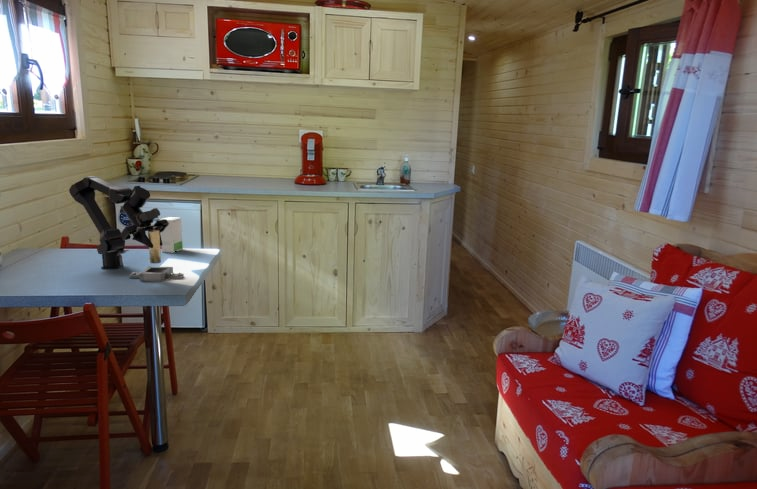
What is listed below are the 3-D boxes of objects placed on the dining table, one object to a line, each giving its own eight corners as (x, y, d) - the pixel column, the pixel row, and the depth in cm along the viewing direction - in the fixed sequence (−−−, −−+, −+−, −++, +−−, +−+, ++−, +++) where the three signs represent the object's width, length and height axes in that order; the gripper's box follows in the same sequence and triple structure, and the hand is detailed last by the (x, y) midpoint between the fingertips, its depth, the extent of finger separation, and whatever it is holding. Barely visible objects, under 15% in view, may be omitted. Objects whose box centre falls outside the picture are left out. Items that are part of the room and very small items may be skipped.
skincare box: (173, 253, 237) (171, 220, 233) (160, 252, 238) (158, 219, 235) (183, 249, 245) (181, 217, 241) (171, 247, 246) (169, 216, 243)
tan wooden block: (149, 263, 198) (147, 232, 195) (150, 260, 202) (148, 230, 199) (161, 263, 200) (159, 231, 197) (161, 260, 203) (159, 229, 200)
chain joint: (126, 280, 197) (125, 273, 197) (136, 273, 207) (135, 266, 206) (178, 281, 198) (178, 274, 198) (186, 274, 208) (185, 267, 207)
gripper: (123, 205, 189) (145, 238, 187) (164, 199, 205) (185, 229, 203) (110, 223, 194) (132, 256, 192) (151, 216, 210) (172, 246, 208)
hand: (157, 246), depth 199 cm, fingers closed on tan wooden block, 4 cm apart
